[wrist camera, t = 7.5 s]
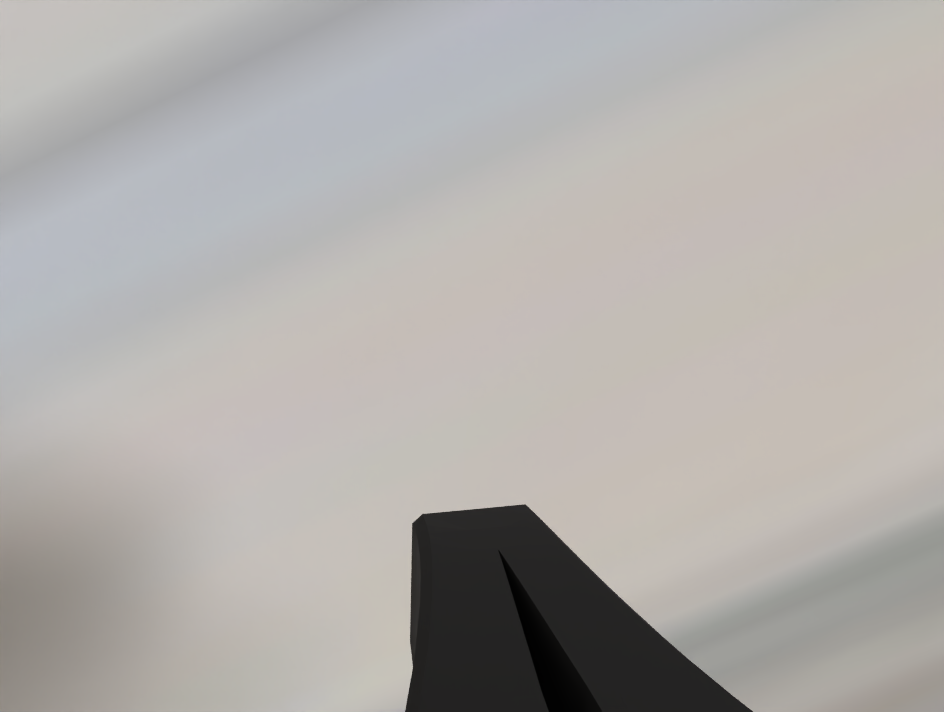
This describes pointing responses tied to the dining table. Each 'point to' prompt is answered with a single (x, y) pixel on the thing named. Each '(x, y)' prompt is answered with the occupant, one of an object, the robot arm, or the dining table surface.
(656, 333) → the dining table surface
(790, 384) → the dining table surface
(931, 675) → the dining table surface
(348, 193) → the dining table surface
